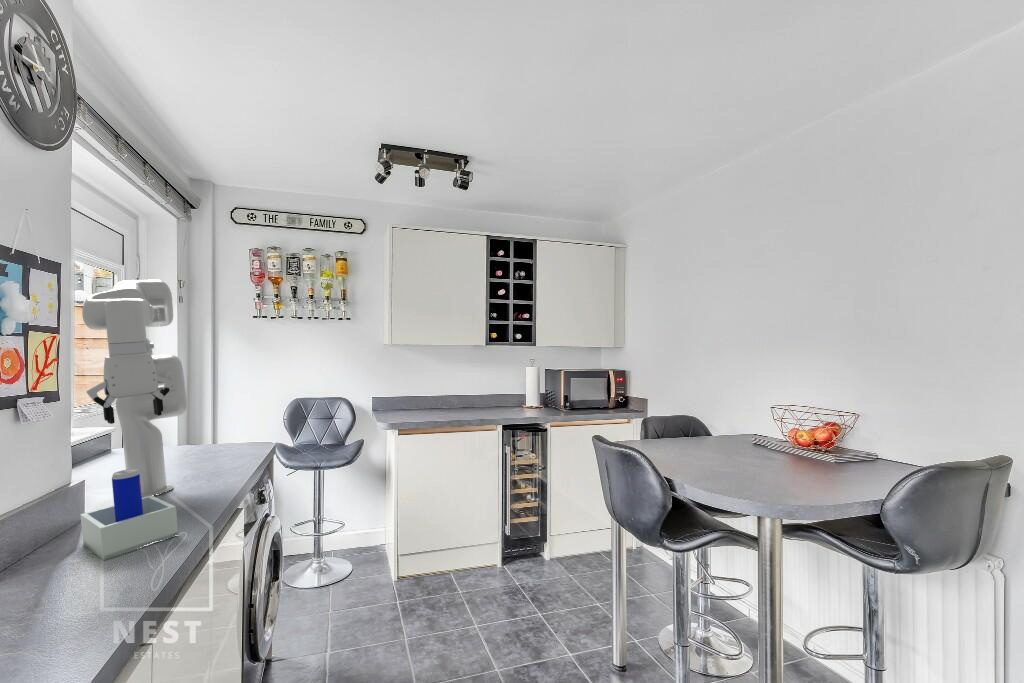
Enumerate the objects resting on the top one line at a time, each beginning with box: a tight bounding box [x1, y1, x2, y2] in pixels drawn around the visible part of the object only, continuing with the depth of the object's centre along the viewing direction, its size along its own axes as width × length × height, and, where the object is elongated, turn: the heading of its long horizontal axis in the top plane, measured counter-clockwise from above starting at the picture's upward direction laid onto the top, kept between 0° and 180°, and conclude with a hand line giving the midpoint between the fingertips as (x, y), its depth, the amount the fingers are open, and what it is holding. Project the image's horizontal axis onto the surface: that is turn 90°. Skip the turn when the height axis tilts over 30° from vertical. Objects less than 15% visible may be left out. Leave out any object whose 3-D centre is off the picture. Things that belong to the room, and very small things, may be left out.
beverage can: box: [111, 469, 143, 522], centre depth 117 cm, size 5×5×15 cm
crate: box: [79, 495, 179, 561], centre depth 117 cm, size 16×14×7 cm
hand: (135, 418), depth 125 cm, fingers open, 9 cm apart
